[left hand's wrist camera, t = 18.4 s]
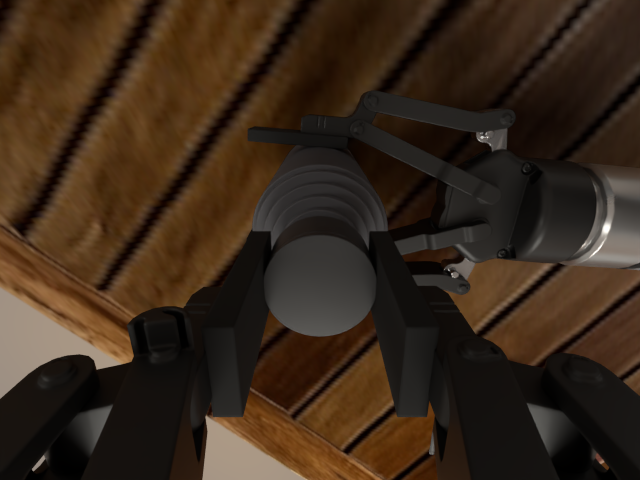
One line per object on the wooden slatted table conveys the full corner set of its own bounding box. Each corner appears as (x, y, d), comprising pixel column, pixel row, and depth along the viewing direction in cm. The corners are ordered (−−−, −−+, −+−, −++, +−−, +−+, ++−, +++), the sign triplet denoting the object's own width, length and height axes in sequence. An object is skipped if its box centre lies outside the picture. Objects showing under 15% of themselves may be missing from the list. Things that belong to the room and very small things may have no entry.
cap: (258, 228, 14) (247, 249, 12) (358, 204, 14) (365, 222, 12) (285, 314, 15) (280, 346, 13) (377, 294, 15) (386, 324, 13)
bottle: (357, 212, 33) (406, 355, 14) (283, 213, 33) (236, 357, 14) (359, 136, 30) (421, 187, 12) (279, 137, 31) (216, 190, 12)
